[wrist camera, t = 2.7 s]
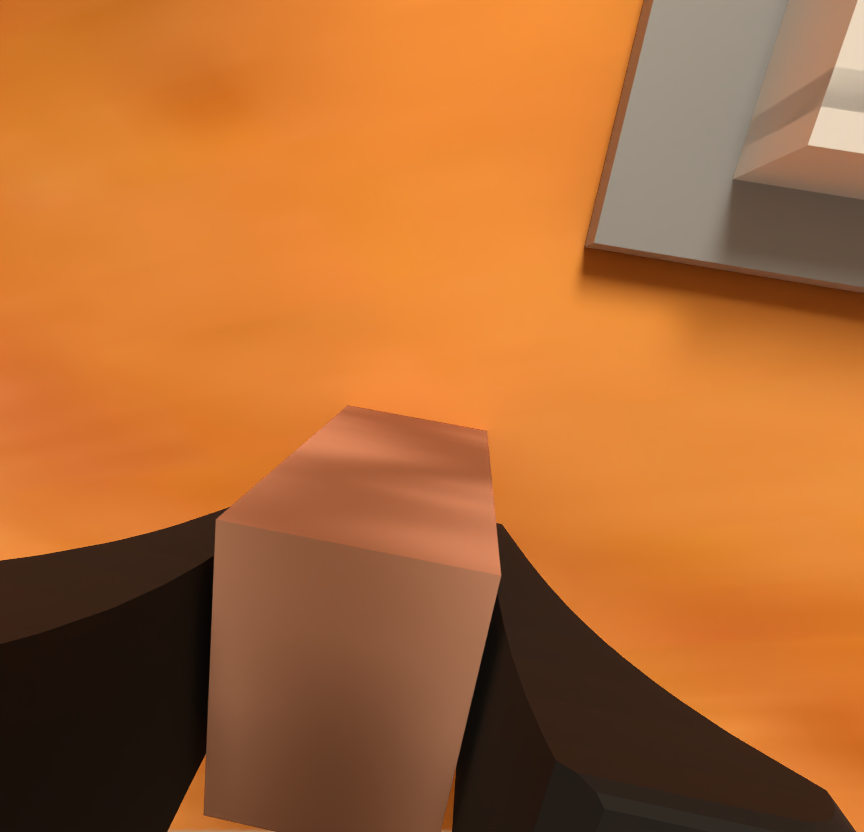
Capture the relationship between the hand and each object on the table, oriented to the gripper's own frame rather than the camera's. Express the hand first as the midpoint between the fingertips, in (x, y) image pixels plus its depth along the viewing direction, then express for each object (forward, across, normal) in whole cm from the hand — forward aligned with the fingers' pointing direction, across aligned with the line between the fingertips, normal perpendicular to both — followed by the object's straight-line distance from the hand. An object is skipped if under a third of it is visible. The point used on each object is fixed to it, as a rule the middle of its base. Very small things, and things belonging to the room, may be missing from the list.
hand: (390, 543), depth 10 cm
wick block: (+2, 0, 0) cm, 2 cm away
